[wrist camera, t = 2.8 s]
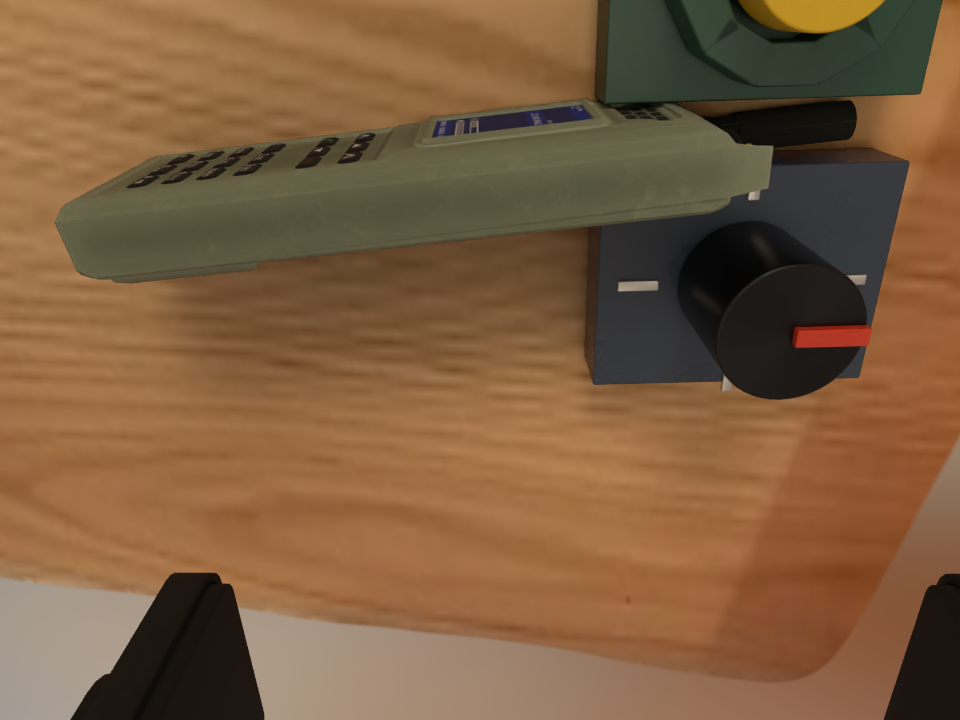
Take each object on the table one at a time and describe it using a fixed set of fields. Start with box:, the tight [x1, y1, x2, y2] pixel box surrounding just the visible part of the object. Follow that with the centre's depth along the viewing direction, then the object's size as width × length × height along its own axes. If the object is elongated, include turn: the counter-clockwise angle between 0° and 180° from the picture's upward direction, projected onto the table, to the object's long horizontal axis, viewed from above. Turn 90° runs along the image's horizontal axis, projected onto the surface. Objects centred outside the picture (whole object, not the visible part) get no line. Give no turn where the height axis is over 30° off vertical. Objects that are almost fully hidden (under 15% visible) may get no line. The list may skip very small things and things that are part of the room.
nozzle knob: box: [678, 221, 872, 400], centre depth 23 cm, size 4×4×5 cm
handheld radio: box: [55, 98, 857, 283], centre depth 23 cm, size 7×3×25 cm
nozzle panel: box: [584, 148, 909, 391], centre depth 26 cm, size 10×9×3 cm
